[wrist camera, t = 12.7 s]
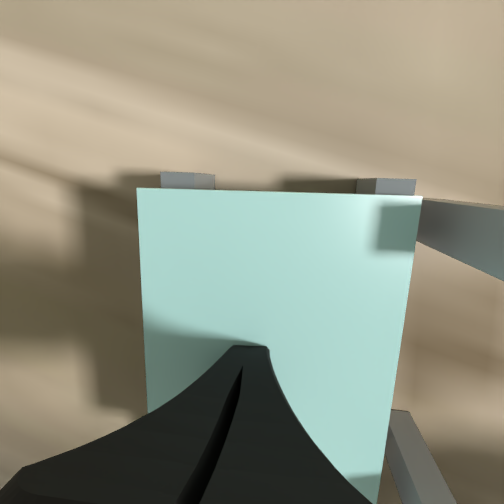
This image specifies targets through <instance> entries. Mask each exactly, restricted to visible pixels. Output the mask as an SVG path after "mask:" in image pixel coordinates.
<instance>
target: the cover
mask: <svg viewBox="0 0 504 504" xmlns="http://www.w3.org/2000/svg"><path fill="white" fill-rule="evenodd" d="M422 198H423V196H414V195H381V194H346V193H311V192H277V191H242V190H207V189H172V188H137V208H138V228H139V248H140V268H141V288H142V308H143V328H144V348H145V368H146V388H147V408H148V413H150V412H152V411H154V410H155V409H157V408H159V407H160V406H162V405H163V404H165V403H166V402H168V401H169V400H171V399H172V398H174V397H175V396H177V395H178V394H179V393H181V392H182V391H183V390H185V389H186V388H187V387H188V386H189V385H191V384H192V383H193V382H194V381H196V380H197V379H198V378H199V377H200V376H201V375H203V374H204V373H205V372H206V371H207V370H208V369H209V368H210V367H211V366H212V365H213V364H214V363H215V362H216V361H217V360H218V359H219V358H220V357H221V356H222V355H223V354H224V353H225V352H226V351H227V350H228V349H229V348H230V347H231V346H233V345H247V346H267V347H268V349H269V350H270V359H271V363H272V366H273V369H274V372H275V375H276V377H277V380H278V382H279V384H280V387H281V389H282V391H283V393H284V395H285V397H286V399H287V401H288V403H289V405H290V406H291V408H292V410H293V412H294V413H295V415H296V417H297V418H298V420H299V421H300V423H301V424H302V426H303V427H304V429H305V430H306V432H307V433H308V434H309V436H310V437H311V439H312V440H313V441H314V443H315V444H316V445H317V446H318V448H319V449H320V450H321V451H322V452H323V454H324V455H325V456H326V457H327V458H328V460H329V461H330V462H331V463H332V464H333V466H334V467H335V468H336V469H337V470H338V471H339V472H340V473H341V474H342V475H343V476H344V477H345V479H346V480H347V481H348V482H349V483H350V484H351V485H353V486H354V487H355V488H356V489H357V490H358V491H359V492H360V493H361V494H362V495H364V496H365V497H366V498H367V499H368V500H369V501H370V502H371V503H372V504H377V499H378V492H379V486H380V479H381V472H382V465H383V459H384V452H385V445H386V439H387V432H388V425H389V419H390V412H391V405H392V398H393V392H394V385H395V378H396V372H397V365H398V358H399V352H400V345H401V338H402V332H403V325H404V318H405V311H406V305H407V298H408V291H409V285H410V278H411V271H412V265H413V258H414V251H415V244H416V238H417V231H418V224H419V218H420V211H421V204H422Z"/></svg>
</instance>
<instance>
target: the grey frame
mask: <svg viewBox="0 0 504 504" xmlns="http://www.w3.org/2000/svg"><path fill="white" fill-rule="evenodd" d="M160 173H161V188H172V189H207V190H215V175H211V174H201V173H183V172H160ZM415 185H416V179H388V178H370V179H357V186H356V194H381V195H414V192H415ZM416 241H418V242H420V243H422V244H424V245H426V246H429V247H431V248H433V249H435V250H437V251H439V252H442V253H444V254H446V255H448V256H450V257H452V258H455V259H457V260H459V261H461V262H463V263H465V264H468V265H470V266H472V267H474V268H476V269H478V270H481V271H483V272H485V273H487V274H489V275H491V276H494V277H496V278H498V279H500V280H502V281H504V206H499V205H490V204H481V203H472V202H463V201H454V200H445V199H422V204H421V211H420V218H419V224H418V231H417V238H416ZM384 453H385V456H386V458H387V461H388V464H389V467H390V470H391V473H392V475H393V478H394V481H395V484H396V487H397V490H398V493H399V495H400V498H401V501H402V504H457V503H456V501H455V499H454V497H453V495H452V493H451V491H450V489H449V487H448V485H447V483H446V482H445V480H444V478H443V476H442V474H441V472H440V470H439V468H438V466H437V464H436V462H435V460H434V458H433V457H432V455H431V453H430V451H429V449H428V447H427V445H426V443H425V441H424V439H423V437H422V435H421V434H420V432H419V430H418V428H417V426H416V424H415V422H414V420H413V418H412V416H411V414H410V412H406V411H396V410H391V412H390V419H389V425H388V432H387V439H386V445H385V452H384Z"/></svg>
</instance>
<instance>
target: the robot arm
mask: <svg viewBox="0 0 504 504" xmlns="http://www.w3.org/2000/svg"><path fill="white" fill-rule="evenodd" d="M0 504H372V503H371V502H370V501H369V500H368V499H367V498H366V497H365V496H364V495H362V494H361V493H360V492H359V491H358V490H357V489H356V488H355V487H354V486H353V485H351V484H350V483H349V482H348V481H347V480H346V479H345V477H344V476H343V475H342V474H341V473H340V472H339V471H338V470H337V469H336V468H335V467H334V466H333V464H332V463H331V462H330V461H329V460H328V458H327V457H326V456H325V455H324V454H323V452H322V451H321V450H320V449H319V448H318V446H317V445H316V444H315V443H314V441H313V440H312V439H311V437H310V436H309V434H308V433H307V432H306V430H305V429H304V427H303V426H302V424H301V423H300V421H299V420H298V418H297V417H296V415H295V413H294V412H293V410H292V408H291V406H290V405H289V403H288V401H287V399H286V397H285V395H284V393H283V391H282V389H281V387H280V384H279V382H278V380H277V377H276V375H275V372H274V369H273V366H272V363H271V359H270V350H269V349H268V347H267V346H247V345H233V346H231V347H230V348H229V349H228V350H227V351H226V352H225V353H224V354H223V355H222V356H221V357H220V358H219V359H218V360H217V361H216V362H215V363H214V364H213V365H212V366H211V367H210V368H209V369H208V370H207V371H206V372H205V373H204V374H203V375H201V376H200V377H199V378H198V379H197V380H196V381H194V382H193V383H192V384H191V385H189V386H188V387H187V388H186V389H185V390H183V391H182V392H181V393H179V394H178V395H177V396H175V397H174V398H172V399H171V400H169V401H168V402H166V403H165V404H163V405H162V406H160V407H159V408H157V409H155V410H154V411H152V412H150V413H148V414H147V415H145V416H143V417H141V418H139V419H137V420H136V421H134V422H132V423H130V424H128V425H127V426H125V427H123V428H121V429H119V430H117V431H114V432H112V433H110V434H108V435H106V436H104V437H102V438H99V439H97V440H95V441H92V442H90V443H88V444H85V445H83V446H80V447H78V448H76V449H73V450H70V451H67V452H65V453H62V454H59V455H56V456H54V457H51V458H48V459H45V460H43V461H40V462H37V463H34V464H31V465H28V466H25V467H22V468H21V469H20V470H19V471H18V472H17V473H16V474H15V475H14V476H13V478H12V479H11V480H10V481H9V482H8V483H7V484H6V485H5V486H4V487H3V488H2V489H1V490H0Z"/></svg>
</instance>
